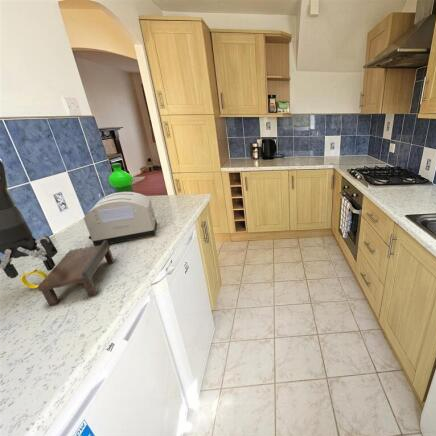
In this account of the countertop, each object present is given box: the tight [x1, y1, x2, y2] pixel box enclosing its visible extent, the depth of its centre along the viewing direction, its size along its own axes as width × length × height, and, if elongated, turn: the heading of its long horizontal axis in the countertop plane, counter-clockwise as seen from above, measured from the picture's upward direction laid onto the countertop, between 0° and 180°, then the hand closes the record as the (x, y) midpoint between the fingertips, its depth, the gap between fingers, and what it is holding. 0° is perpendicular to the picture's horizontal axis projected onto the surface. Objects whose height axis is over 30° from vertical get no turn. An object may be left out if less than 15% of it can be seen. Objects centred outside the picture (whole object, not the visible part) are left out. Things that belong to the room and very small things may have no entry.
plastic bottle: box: [108, 162, 135, 193], centre depth 130 cm, size 10×10×25 cm
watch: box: [20, 267, 48, 290], centre depth 73 cm, size 6×3×6 cm, turn 103°
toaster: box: [83, 192, 158, 246], centre depth 105 cm, size 23×25×17 cm
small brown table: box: [37, 240, 115, 307], centre depth 75 cm, size 11×20×8 cm, turn 21°
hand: (33, 272), depth 72 cm, fingers open, 8 cm apart
